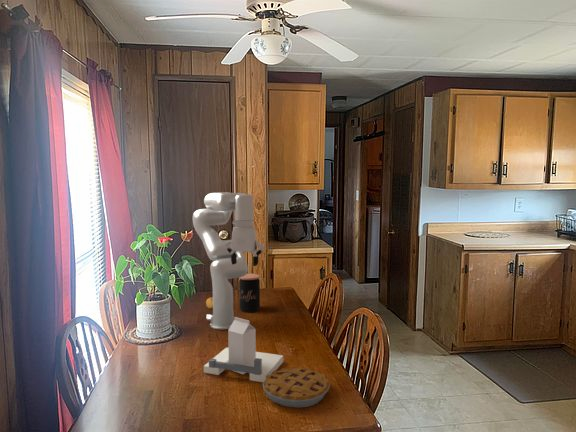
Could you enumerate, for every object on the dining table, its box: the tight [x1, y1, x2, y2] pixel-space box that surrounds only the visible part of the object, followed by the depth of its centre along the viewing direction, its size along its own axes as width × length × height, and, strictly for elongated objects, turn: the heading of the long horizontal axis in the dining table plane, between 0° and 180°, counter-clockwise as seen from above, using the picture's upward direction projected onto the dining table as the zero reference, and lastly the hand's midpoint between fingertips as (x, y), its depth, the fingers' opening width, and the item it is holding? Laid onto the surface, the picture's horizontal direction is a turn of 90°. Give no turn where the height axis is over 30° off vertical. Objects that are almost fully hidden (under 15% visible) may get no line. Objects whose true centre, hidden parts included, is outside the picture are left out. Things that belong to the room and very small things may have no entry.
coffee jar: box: [238, 273, 261, 313], centre depth 235 cm, size 11×11×18 cm
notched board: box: [203, 347, 284, 383], centre depth 167 cm, size 24×18×2 cm
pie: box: [262, 366, 331, 408], centre depth 148 cm, size 22×22×5 cm
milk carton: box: [227, 316, 257, 375], centre depth 165 cm, size 7×7×19 cm
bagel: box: [205, 296, 213, 310], centre depth 241 cm, size 10×11×5 cm
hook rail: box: [208, 357, 262, 375], centre depth 159 cm, size 20×2×5 cm, turn 71°
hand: (244, 264), depth 189 cm, fingers open, 9 cm apart
